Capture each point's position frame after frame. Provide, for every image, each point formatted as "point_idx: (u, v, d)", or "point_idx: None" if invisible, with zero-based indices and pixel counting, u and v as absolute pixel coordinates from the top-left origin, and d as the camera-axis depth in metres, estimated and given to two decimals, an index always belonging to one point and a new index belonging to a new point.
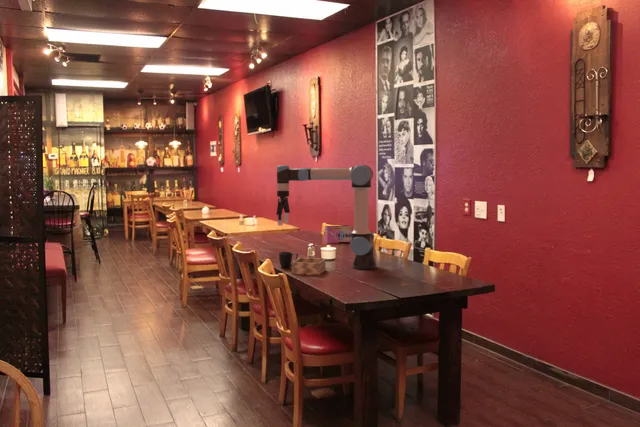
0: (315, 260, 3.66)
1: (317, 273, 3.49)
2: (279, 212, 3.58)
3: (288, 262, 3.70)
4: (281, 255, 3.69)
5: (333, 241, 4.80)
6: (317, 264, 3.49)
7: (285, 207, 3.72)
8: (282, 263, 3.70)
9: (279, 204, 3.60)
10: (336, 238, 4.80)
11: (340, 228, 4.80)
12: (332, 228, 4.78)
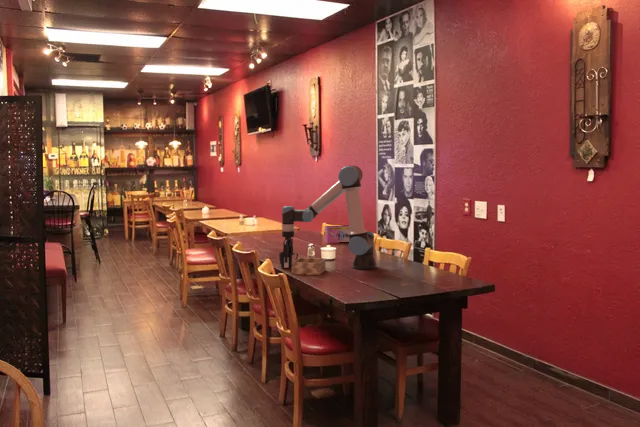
0: (315, 260, 3.66)
1: (317, 273, 3.49)
2: (285, 255, 3.65)
3: None
4: (281, 255, 3.70)
5: (333, 241, 4.79)
6: (317, 264, 3.49)
7: (289, 248, 3.75)
8: (282, 263, 3.70)
9: (285, 247, 3.66)
10: (336, 238, 4.80)
11: (340, 228, 4.80)
12: (332, 228, 4.78)
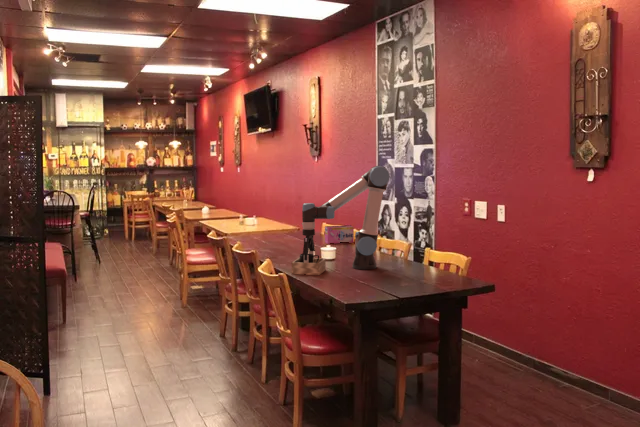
0: (315, 260, 3.66)
1: (317, 273, 3.49)
2: (305, 252, 3.49)
3: None
4: (302, 257, 3.56)
5: (333, 241, 4.78)
6: (317, 264, 3.49)
7: (310, 245, 3.62)
8: None
9: (305, 244, 3.50)
10: (337, 238, 4.79)
11: (340, 228, 4.79)
12: (332, 228, 4.77)
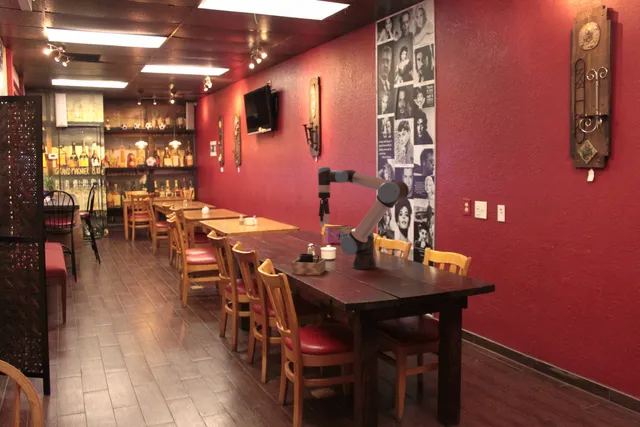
0: (315, 260, 3.66)
1: (317, 273, 3.49)
2: (321, 213, 3.62)
3: None
4: (302, 257, 3.56)
5: (334, 241, 4.78)
6: (317, 264, 3.49)
7: (326, 208, 3.75)
8: None
9: (321, 205, 3.63)
10: (337, 238, 4.78)
11: (340, 228, 4.79)
12: (333, 228, 4.76)
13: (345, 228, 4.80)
